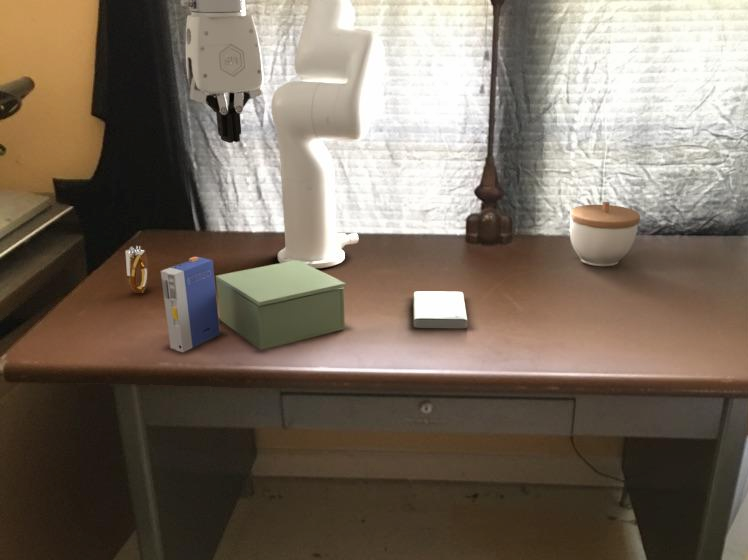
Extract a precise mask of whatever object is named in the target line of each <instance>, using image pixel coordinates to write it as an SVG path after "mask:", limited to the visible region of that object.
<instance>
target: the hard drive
mask: <svg viewBox="0 0 748 560" xmlns="http://www.w3.org/2000/svg"><path fill="white" fill-rule="evenodd" d="M413 327H414V328H418V329H466V328H468V316H467V309H466V303H465V297H464V293H463V291H437V290H436V291H431V290H429V291H426V290H425V291H420V290H419V291H414V292H413Z"/></svg>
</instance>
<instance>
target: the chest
mask: <svg viewBox="0 0 748 560" xmlns="http://www.w3.org/2000/svg"><path fill="white" fill-rule="evenodd" d="M215 284H216V294H217V304H218V314H219V321H221V322H222V323H224V324H225V325H226V326H228V327H229V328H230V329H232V330H233V331H235V332H236V333H237V334H238V335H240V336H241V337H243V338H244V339H245V340H246V341H248V342H249V343H251V344H252V345H253V346H255V347H256V348H257V349H259V350H261V351H262V350H267V349H272V348H274V347H279V346H283V345H288V344H291V343H295V342H298V341H299V342H300V341H302V340H307V339H310V338H314V337H315V338H316V337H319V336H324V335H327V334H331V333H335V332H339V331H343V330H345V328H346V326H345V325H346V322H345V321H346V320H345V319H346V318H345V289H344V288H345V287H343V288H339V289H334V290H330V291H325V292H321V293H316V294H312V295H307V296H302V297H298V298H293V299H289V300H284V301H280V302H275V303H271V304H266V305H262V306H259V305H257V304H256V303H254V302H252V301H251V300H249V299H247V298H246V297H244V296H243V295H241V294H239V293H238V292H236V291H234V290H233V289H231V288H230V287H228V286H226V285H225V284H223V283H221V282H220V281H218V280H217V279H215Z"/></svg>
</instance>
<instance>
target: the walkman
mask: <svg viewBox="0 0 748 560" xmlns="http://www.w3.org/2000/svg"><path fill="white" fill-rule="evenodd" d="M160 277H161V286H162V293H163V300H164V301H163V302H164V308H165V315H166V317H165V318H166V323H167V333H168V339H169V347H170V349H172V350H175V351H177V352H180V353H186V352H188V351H189V350H191V349H193V348H195V347H198V346H200V345H201V344H204V343H206V342H208V341H210V340H212V339H214V338H216V337H218V336H220V335H221V330H220V318H219V308H218V298H217V288H216V278H215V270H214V260H213V259H209V258H205V257H201V256H192V257H189V258H188V260H187V261H184V262H182V263H181V262H180V263H179V264H175V265H174V266H170V267H168V268H164V269H162V270H160Z"/></svg>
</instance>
